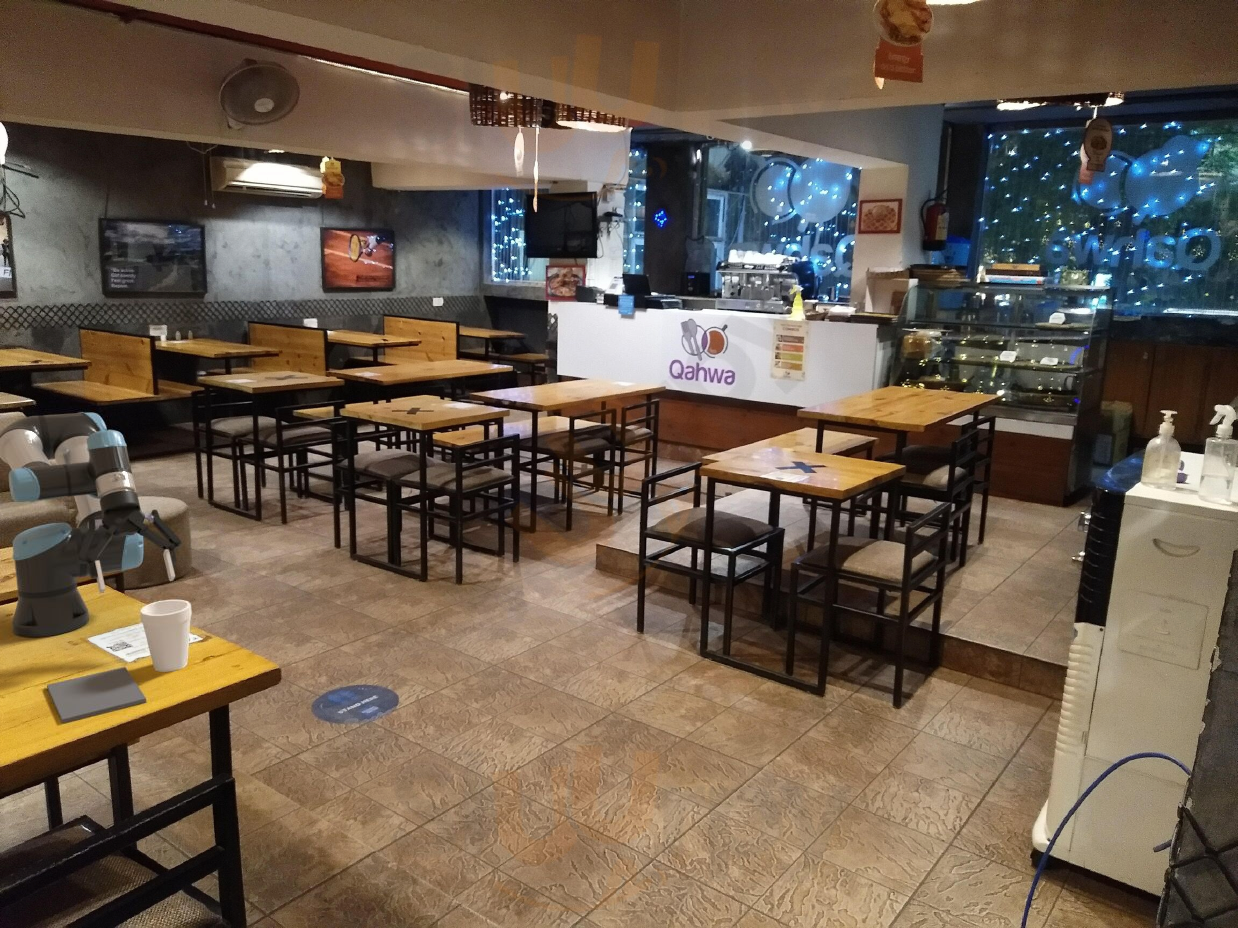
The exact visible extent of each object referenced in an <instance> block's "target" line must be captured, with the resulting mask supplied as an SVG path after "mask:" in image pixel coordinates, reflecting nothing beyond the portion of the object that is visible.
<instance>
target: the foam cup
mask: <svg viewBox="0 0 1238 928" xmlns="http://www.w3.org/2000/svg"><path fill="white" fill-rule="evenodd" d="M139 612H140V613H139V614H140V622H141V624H142V625H143V626H142V627H143V630H144V634H145V637H146V638H145V639H146V641H147V646H148V649H149V654H150V659H151V661H152V665H153V669H154V670H155V671H157V672H160V673H161V672H162V673H165V672H166V673H169V672H174V671H178V670H181V669H183V668H184V667H186V666H187V664H188V660H189V659H188V657H189V648H190V647H189V646H190V631H191V630H190V629H191V619H192V618H191V617H192V603H191V602H190V601H188V600H183V599H165V600H160V601H155V602H151V603H149V604H146V605H144V606H142V608H141V609H140V610H139Z"/></svg>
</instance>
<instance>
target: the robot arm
mask: <svg viewBox="0 0 1238 928" xmlns="http://www.w3.org/2000/svg"><path fill="white" fill-rule="evenodd" d="M127 447H128V446H127V443H126V441H125V437H124V435H123V434H122V433H121V432H120V431H118V430H114V429H107V425H106V423H105V421H104V420H103V418H102V417H101V416H100V415H99V414H98V413H95V412H83V411H82V412H81V411H79V412H77V413H64V414H63V413H62V414H61V413H60V414H47V415H32V416H26V417H23V418H20V419H18V420H15V421H13V422H12V423H9V424H8V425H7V426H6V427H4V428H3V429H2V430H1V432H0V459H1V460H2V461H3V462H4V463H5V464H8V466H9V467H10V471H9V473H8V483H9V491H10V494H11V498H12V501H14V503H15V502H16V503H25V502H26V503H28V502H29V503H35V502H37V501H38V502H39V501H45V500H46V501H47V500H53V499H61V498H69V497H74V500H75V504H76V508H77V511H78V514H79V516H80V521H79V523H78V525H77V527H75V528H73V527H72V526H71V525H70V524H69V523H67V522H58V523H56V522H53V523H47V524H42V525H38V526H35V527H32V528H29V529H26V530H24V531H22V532H20V533H19V534H17V535H16V536H15V537H14V539H13V541H12V552H13V554H12V559H13V560H14V566H15V567H14V569H15V578H16V587H17V596H18V599H17V602H16V607H15V610H14V614H13V618H12V623H11V624H12V631H13V633H14V635H17V636H20V637H26V638H27V637H28V638H40V637H49V636H56V635H61V634H65V633H67V632H73V631H74V630H77V629H79V628H81V627H83V626H85V625H86V624H87V623H88V622H89V620H90V615H89V614H90V612H89V608H88V606H87V605H86V603H85V601H84V599H83V598H82V595H81V593H80V592H79V589H78V581H77V579H79V578H85V577H90V579H92V580H93V579H96V582H97V585H98V586H97V587H98V590H99V594H105V590H106V584H105V581H104V575H103V574H108V573H113V572H114V573H115V572H121V571H122V572H124V571H126V570H131V569H135V568H138V567H140V566H141V565H142V563H143V559H144V538H145V539H147V540H149V541H150V542H151V543H153V544H155V545H156V546H157V547H158V548H161V550H163V554H162V555H163V559H164V563H165V568H166V572H167V577H168V581H169V582H172V581H174V579H175V577H176V574H175V569H174V566H176V563H177V557H176V553H175V550H176V549H179V548H180V547H181V544H182V540H181V539H180V538H179V537H178V536H177V534H175V532H174V531H173V530H172V529H171V528H170V526H168V525H167V523H165V521H164V520H163V519H162V518H161V517H160V514H159V512H158V510H157V509H152V511H150V512H145V513H144V512H143V511H142V509H141V505H140V501H139V500H140V499H139V495H138V493H137V489H136V484H135V479H134V475H133V471H132V468H131V463H130V458H129V453H128V448H127ZM50 460H51V461H52V460H55V462H56V463H57V464H55V465H54V464H51V462H50ZM145 520H147V521H148V522H149V523H152V524H153V526H154V527H155V528H156V529H157V530H158V531H159V532H160V534H161V535H163V537H162V536H161V535H160V534H158V533H157V532H155V531H154V530H152V529H151V528H150V527H149V526H148V525H146V524H145V523H144V521H145Z"/></svg>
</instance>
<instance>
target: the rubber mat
mask: <svg viewBox="0 0 1238 928" xmlns="http://www.w3.org/2000/svg"><path fill="white" fill-rule="evenodd" d="M46 689H47V691H48V693H49V697H50V698H51V701H52V702H53V705H54V707H55V709H56V711H57V715H58V717H59V718H60V720H61V722H62V724H66V723H70V722H75V721H78V720H81V719H86V718H89V717H93V716H98V715H101V714H106V713H110V712H113V711H117V710H121V709H124V708H129V707H134V706H137V705H140V704H144V703H147V698H146V696H145V694H144V693H143V691H142V690H141V688H140V687H139V685H138V683H137V682H136V681H135V679H134V677H133V676H132V674H131V673H130V671H129V670H128V669H127V667H126V666H122V667H118V668H114V669H110V670H106V671H105V670H104V671H102V672H97V673H92V674H87V675H84V676H79V677H75V678H71V679H67V680H62V681H58V682H57V681H56V682H52V683H49V684H46Z"/></svg>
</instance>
